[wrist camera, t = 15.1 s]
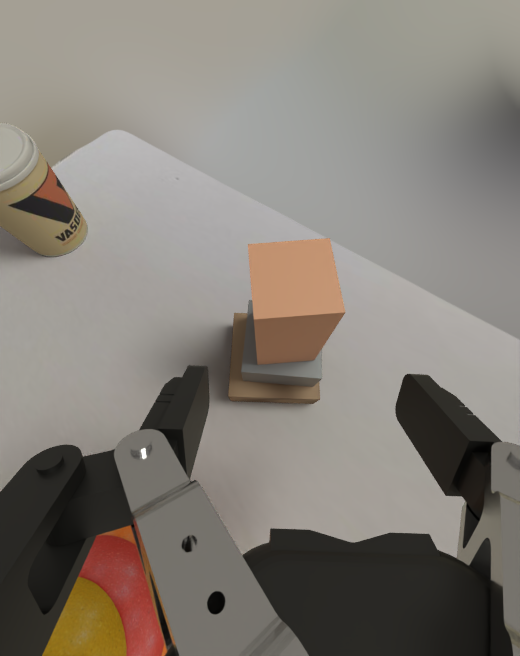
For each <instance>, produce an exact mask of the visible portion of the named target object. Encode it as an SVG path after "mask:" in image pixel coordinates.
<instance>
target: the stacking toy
mask: <svg viewBox="0 0 520 656" xmlns="http://www.w3.org/2000/svg"><path fill="white" fill-rule="evenodd" d="M166 653H167V651H166V647H165V644H164V641H163V637H162V634H161V631H160V627H159V624H158V620H157V617H156V613H155V610H154V606H153V602H152V599H151V595H150V591H149V587H148V584H147V580H146V577H145V574H144V570H143V567H142V564H141V560H140V557H139V553H138V550H137V547H136V543H135V540H134V537H133V533H132V530H131V527H130V526H127V527H123V528H120V529H116V530H113V531H110V532H106V533H103V534H100V535H97V536H96V538H95V540H94V543H93V545H92V547H91V549H90V551H89V554H88V556H87V558H86V560H85V562H84V565H83V567H82V569H81V571H80V573H79V576H78V578H77V580H76V582H75V584H74V587H73V589H72V591H71V593H70V595H69V598H68V600H67V602H66V604H65V607H64V609H63V611H62V613H61V615H60V618H59V620H58V622H57V624H56V626H55V629H54V631H53V633H52V635H51V637H50V640H49V642H48V644H47V646H46V648H45V651H44V653H43V655H42V656H164V655H165V654H166Z"/></svg>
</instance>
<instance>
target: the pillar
mask: <svg viewBox="0 0 520 656" xmlns="http://www.w3.org/2000/svg"><path fill="white" fill-rule="evenodd" d="M248 251H249V264H250V277H251V290H252V303H253V316H254V328H255V340H256V352H257V365H262V364H275V363H287V362H300V361H312V360H315V358H316V357H317V355H318V354H319V352H320V351H321V349H322V348H323V346H324V344H325V343H326V341H327V340H328V338H329V337H330V335H331V334H332V332H333V331H334V329H335V328H336V326H337V324H338V323H339V321H340V320H341V318H342V317H343V315H344V314H345V308H344V304H343V299H342V294H341V290H340V285H339V280H338V276H337V271H336V266H335V261H334V257H333V252H332V247H331V243H330V238H327V239H313V240H299V241H285V242H272V243H258V244H248Z"/></svg>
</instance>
